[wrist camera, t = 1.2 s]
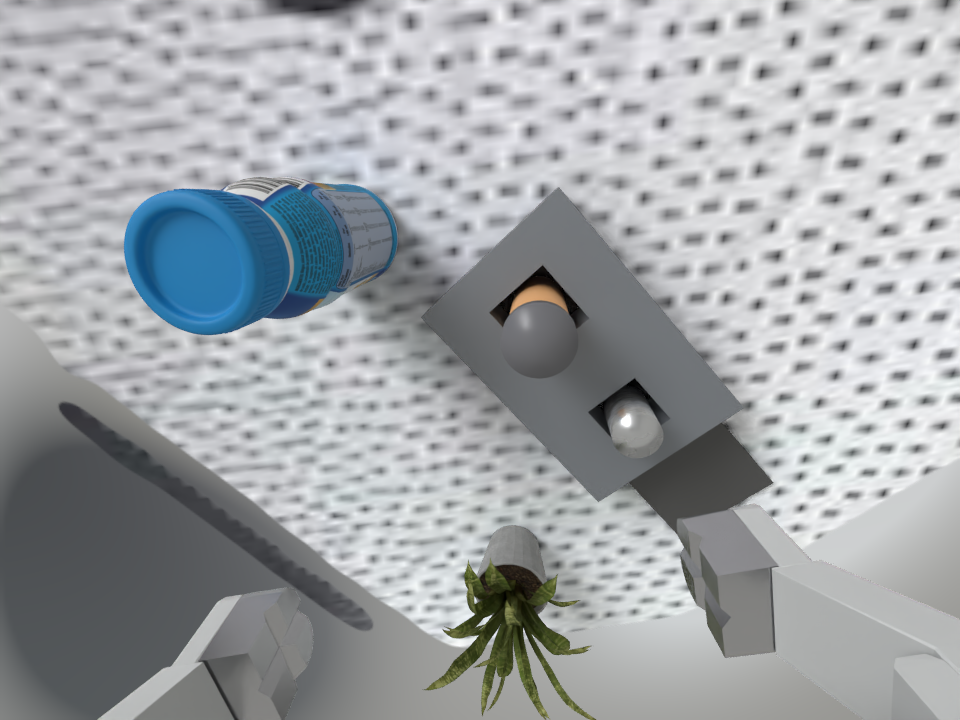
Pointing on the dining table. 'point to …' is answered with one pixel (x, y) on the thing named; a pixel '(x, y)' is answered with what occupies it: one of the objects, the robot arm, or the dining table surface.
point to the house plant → (510, 616)
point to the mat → (701, 478)
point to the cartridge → (539, 330)
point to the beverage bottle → (255, 250)
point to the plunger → (632, 423)
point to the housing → (582, 348)
